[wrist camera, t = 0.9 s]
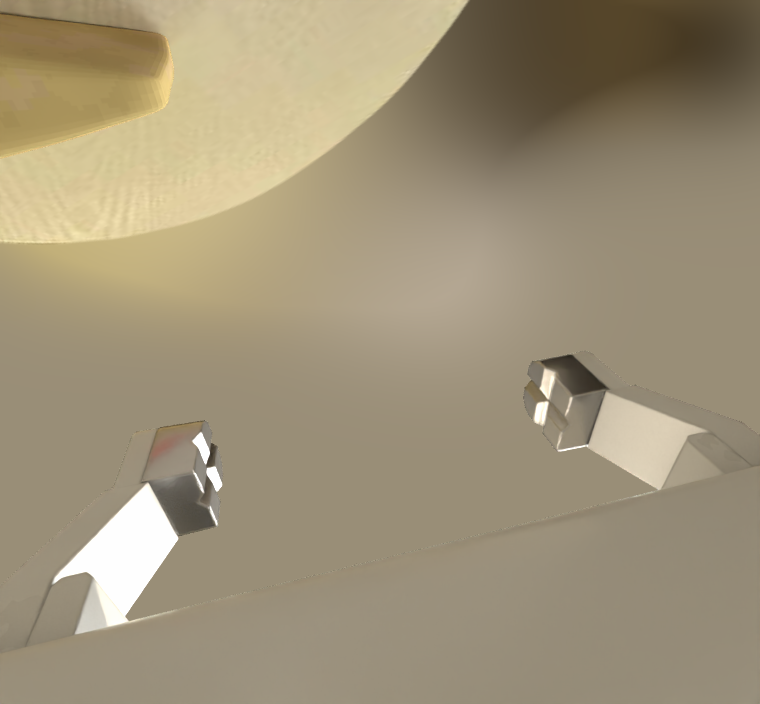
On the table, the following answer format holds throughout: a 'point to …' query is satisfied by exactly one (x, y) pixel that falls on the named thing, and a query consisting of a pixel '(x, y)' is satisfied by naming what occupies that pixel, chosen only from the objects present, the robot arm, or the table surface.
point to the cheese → (75, 80)
